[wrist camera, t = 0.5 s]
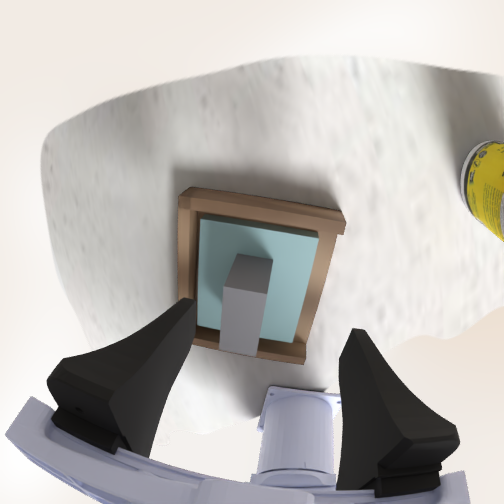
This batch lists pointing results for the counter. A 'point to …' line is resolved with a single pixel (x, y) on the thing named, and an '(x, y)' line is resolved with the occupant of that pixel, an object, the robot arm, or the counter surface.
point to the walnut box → (263, 211)
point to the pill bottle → (485, 185)
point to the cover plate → (260, 244)
